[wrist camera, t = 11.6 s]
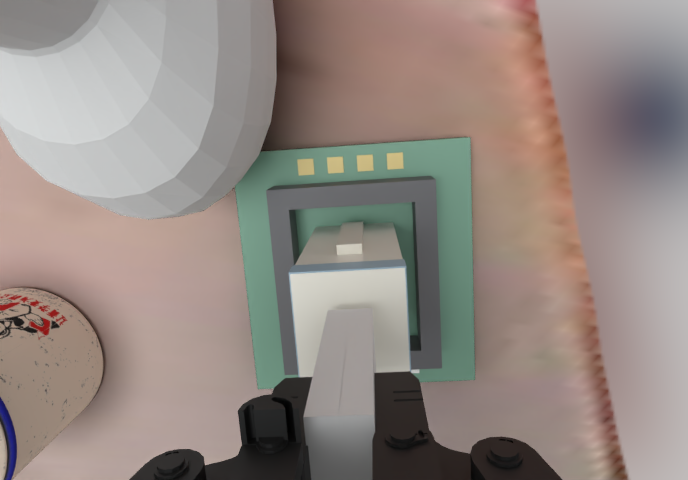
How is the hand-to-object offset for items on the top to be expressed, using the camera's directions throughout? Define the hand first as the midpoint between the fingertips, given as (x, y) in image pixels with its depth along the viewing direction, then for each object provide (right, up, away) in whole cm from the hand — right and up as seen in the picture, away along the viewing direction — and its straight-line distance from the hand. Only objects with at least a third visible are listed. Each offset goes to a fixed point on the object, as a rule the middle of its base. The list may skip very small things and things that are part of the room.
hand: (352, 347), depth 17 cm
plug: (0, +2, +10) cm, 10 cm away
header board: (+1, +2, +11) cm, 12 cm away
